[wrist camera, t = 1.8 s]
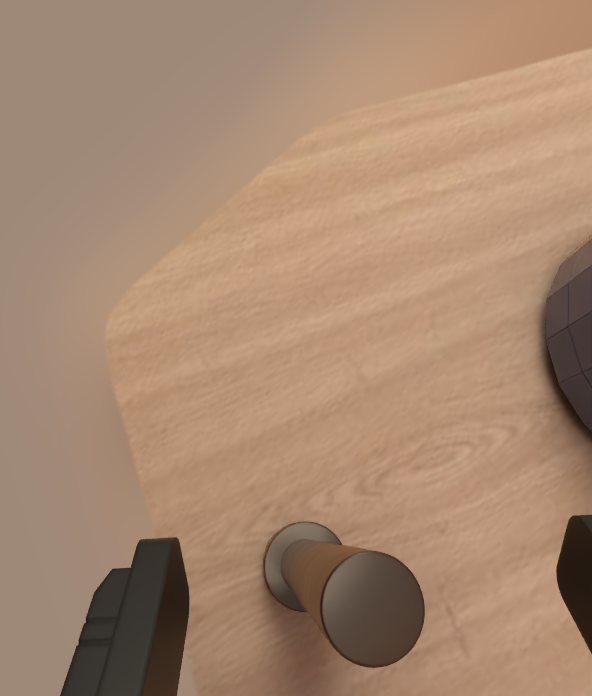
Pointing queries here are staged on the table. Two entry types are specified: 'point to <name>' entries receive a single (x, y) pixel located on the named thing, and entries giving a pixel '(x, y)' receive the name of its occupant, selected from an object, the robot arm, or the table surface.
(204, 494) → the table surface
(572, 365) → the blue bowl
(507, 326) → the table surface
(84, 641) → the robot arm
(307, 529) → the capped post on base
